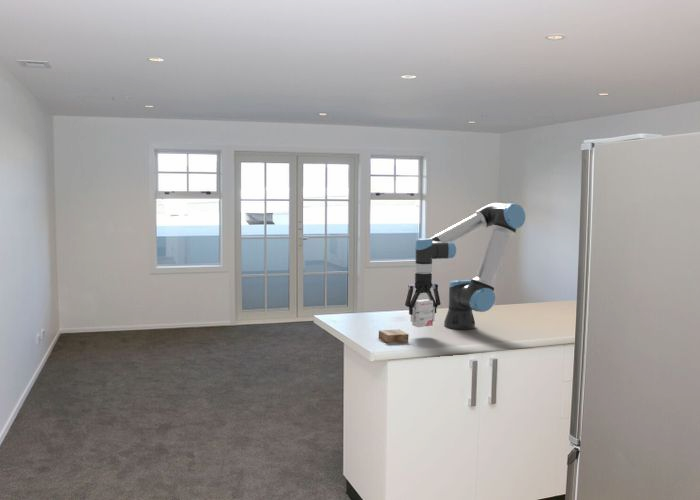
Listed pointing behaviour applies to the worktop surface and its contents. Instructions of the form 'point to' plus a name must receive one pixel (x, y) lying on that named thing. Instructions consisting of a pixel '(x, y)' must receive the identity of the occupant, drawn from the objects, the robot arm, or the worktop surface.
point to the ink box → (423, 313)
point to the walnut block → (393, 336)
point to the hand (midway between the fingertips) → (422, 321)
